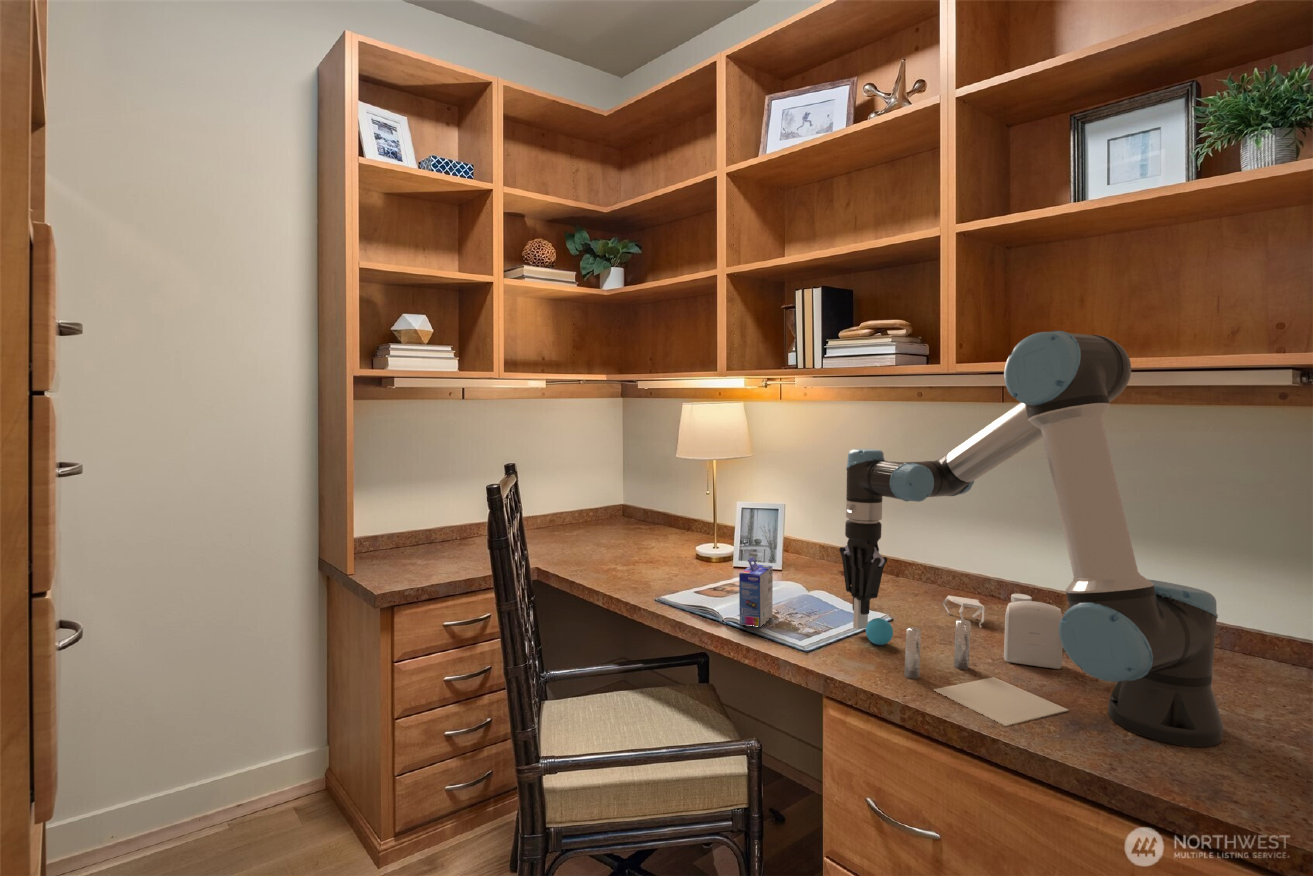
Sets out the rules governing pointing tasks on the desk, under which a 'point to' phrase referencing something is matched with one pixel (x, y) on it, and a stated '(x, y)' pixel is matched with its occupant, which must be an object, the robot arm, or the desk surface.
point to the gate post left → (912, 652)
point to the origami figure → (967, 603)
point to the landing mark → (1000, 701)
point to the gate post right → (962, 644)
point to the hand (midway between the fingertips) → (860, 627)
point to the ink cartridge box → (755, 594)
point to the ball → (879, 631)
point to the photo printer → (1033, 634)
